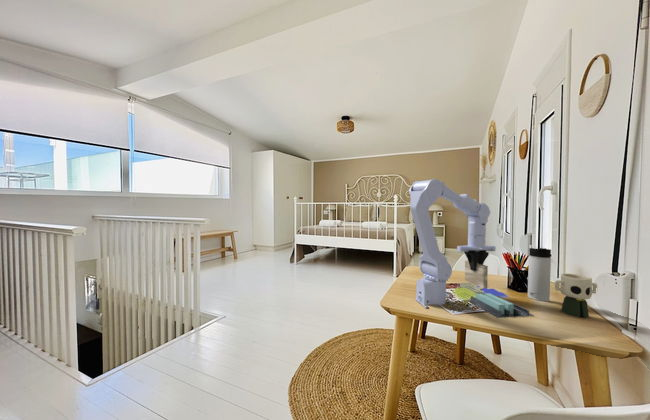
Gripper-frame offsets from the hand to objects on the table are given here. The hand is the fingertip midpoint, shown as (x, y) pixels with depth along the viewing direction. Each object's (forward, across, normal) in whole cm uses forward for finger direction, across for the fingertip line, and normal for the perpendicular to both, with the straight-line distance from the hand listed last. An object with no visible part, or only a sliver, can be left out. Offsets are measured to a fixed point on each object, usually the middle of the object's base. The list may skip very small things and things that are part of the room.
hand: (475, 270), depth 98 cm
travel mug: (+11, +21, -6) cm, 24 cm away
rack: (+10, -1, -12) cm, 16 cm away
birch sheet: (+5, 0, 0) cm, 5 cm away
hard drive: (+11, +10, +3) cm, 15 cm away
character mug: (+11, +20, -19) cm, 30 cm away
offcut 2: (+9, -1, -12) cm, 15 cm away
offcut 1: (+9, -4, -12) cm, 16 cm away
